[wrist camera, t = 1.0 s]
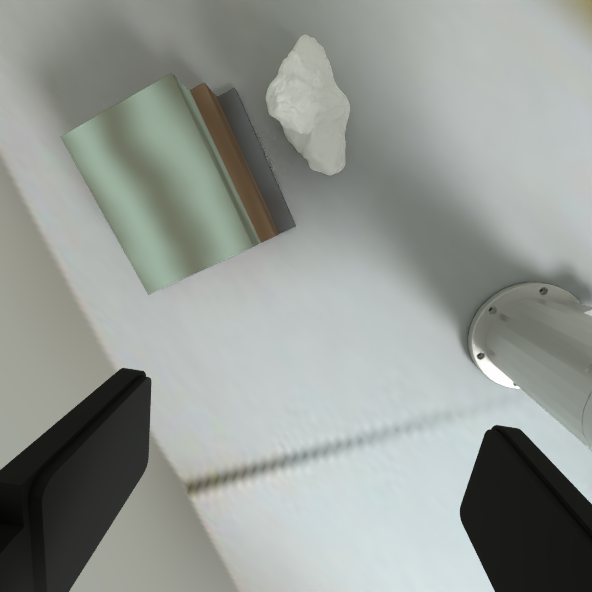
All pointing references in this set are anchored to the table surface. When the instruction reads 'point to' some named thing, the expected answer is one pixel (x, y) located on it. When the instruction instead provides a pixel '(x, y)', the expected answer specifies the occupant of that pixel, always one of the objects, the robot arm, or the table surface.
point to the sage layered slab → (179, 179)
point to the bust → (311, 106)
